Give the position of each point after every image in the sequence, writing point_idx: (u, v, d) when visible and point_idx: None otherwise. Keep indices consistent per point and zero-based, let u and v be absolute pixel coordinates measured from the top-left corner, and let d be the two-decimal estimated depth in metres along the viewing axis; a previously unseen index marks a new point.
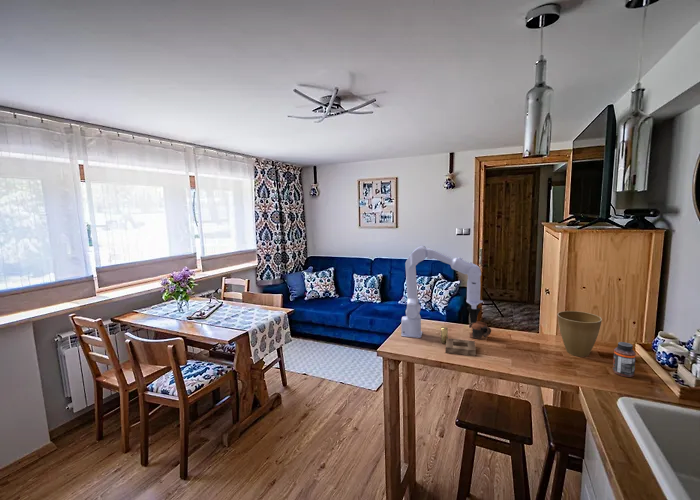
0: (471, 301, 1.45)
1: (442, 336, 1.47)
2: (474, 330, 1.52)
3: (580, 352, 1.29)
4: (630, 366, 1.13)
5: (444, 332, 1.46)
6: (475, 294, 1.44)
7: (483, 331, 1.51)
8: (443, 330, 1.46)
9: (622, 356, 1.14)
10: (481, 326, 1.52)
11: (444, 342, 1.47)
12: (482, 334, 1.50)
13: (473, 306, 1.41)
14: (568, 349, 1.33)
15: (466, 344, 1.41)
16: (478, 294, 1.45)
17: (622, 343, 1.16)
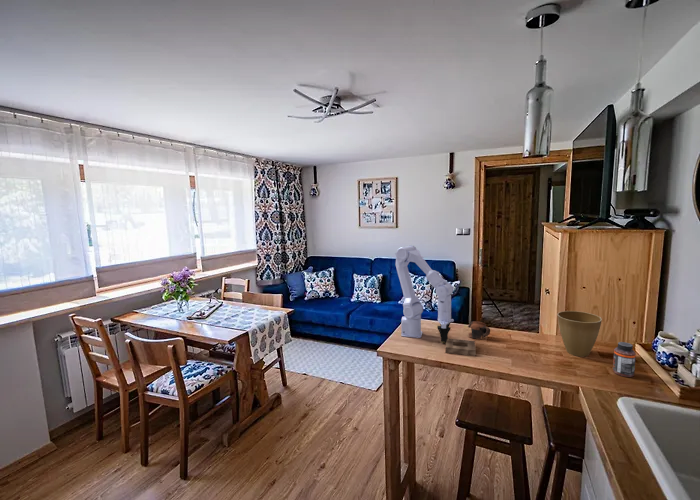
0: (442, 320, 1.45)
1: None
2: (473, 330, 1.52)
3: (580, 352, 1.29)
4: (630, 366, 1.13)
5: None
6: (445, 313, 1.44)
7: (482, 331, 1.51)
8: None
9: (622, 356, 1.14)
10: (480, 326, 1.52)
11: (444, 342, 1.47)
12: (481, 334, 1.50)
13: (443, 325, 1.40)
14: (568, 349, 1.33)
15: (466, 344, 1.41)
16: (448, 313, 1.44)
17: (622, 343, 1.16)
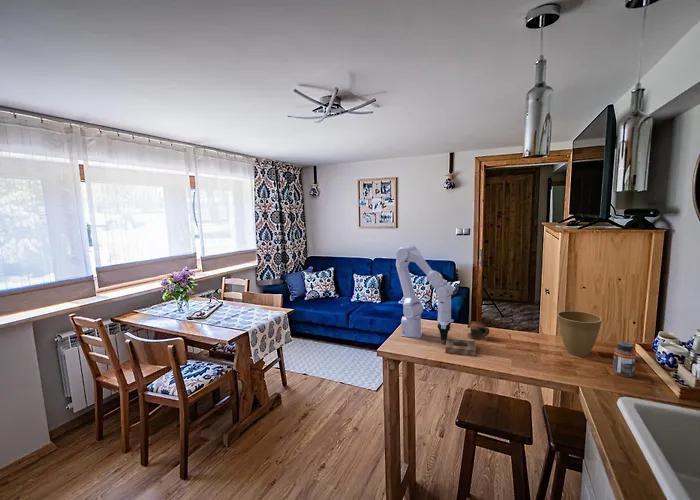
0: (441, 320, 1.45)
1: None
2: (472, 330, 1.52)
3: (580, 352, 1.29)
4: (630, 366, 1.13)
5: None
6: (445, 313, 1.44)
7: (481, 331, 1.51)
8: None
9: (622, 356, 1.14)
10: (479, 326, 1.52)
11: (444, 342, 1.47)
12: (480, 334, 1.50)
13: (442, 326, 1.40)
14: (568, 349, 1.33)
15: (466, 344, 1.41)
16: (448, 313, 1.44)
17: (622, 343, 1.16)
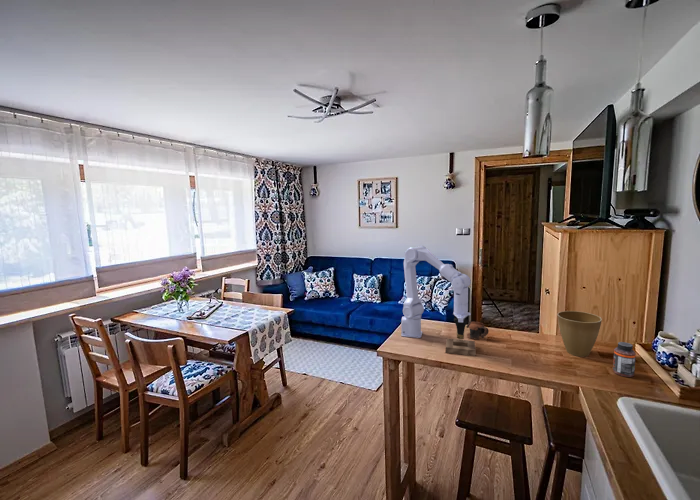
0: (458, 313, 1.36)
1: None
2: (471, 330, 1.52)
3: (580, 352, 1.29)
4: (630, 366, 1.13)
5: None
6: (462, 306, 1.35)
7: (480, 331, 1.51)
8: None
9: (622, 356, 1.14)
10: (478, 326, 1.52)
11: (460, 337, 1.38)
12: (479, 334, 1.50)
13: (460, 319, 1.32)
14: (568, 349, 1.33)
15: (466, 344, 1.41)
16: (465, 306, 1.36)
17: (622, 343, 1.16)
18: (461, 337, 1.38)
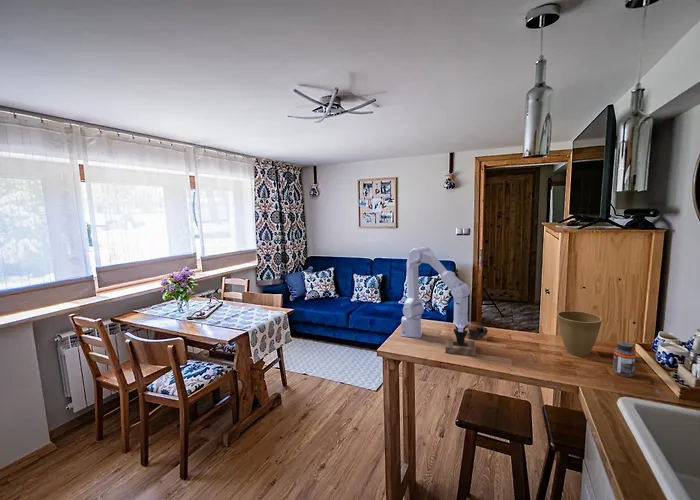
0: (458, 323, 1.37)
1: None
2: (470, 330, 1.52)
3: (580, 352, 1.29)
4: (630, 366, 1.13)
5: None
6: (462, 315, 1.36)
7: (479, 331, 1.51)
8: None
9: (622, 356, 1.14)
10: (477, 326, 1.52)
11: None
12: (478, 334, 1.50)
13: (460, 329, 1.32)
14: (568, 349, 1.33)
15: (466, 344, 1.41)
16: (465, 315, 1.36)
17: (622, 343, 1.16)
18: None
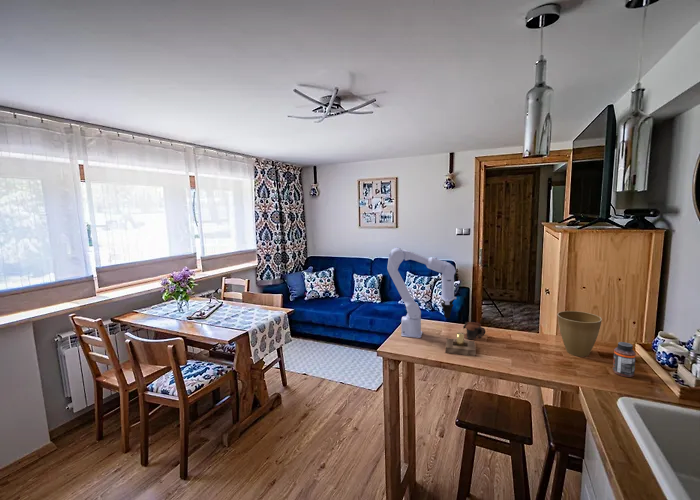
0: (445, 297, 1.53)
1: (458, 343, 1.39)
2: (468, 331, 1.51)
3: (580, 352, 1.29)
4: (630, 366, 1.13)
5: (460, 339, 1.38)
6: (449, 291, 1.52)
7: (477, 332, 1.50)
8: (459, 336, 1.39)
9: (622, 356, 1.14)
10: (475, 327, 1.51)
11: None
12: (476, 335, 1.50)
13: (446, 302, 1.48)
14: (568, 349, 1.33)
15: (466, 344, 1.41)
16: (452, 291, 1.52)
17: (622, 343, 1.16)
18: None
